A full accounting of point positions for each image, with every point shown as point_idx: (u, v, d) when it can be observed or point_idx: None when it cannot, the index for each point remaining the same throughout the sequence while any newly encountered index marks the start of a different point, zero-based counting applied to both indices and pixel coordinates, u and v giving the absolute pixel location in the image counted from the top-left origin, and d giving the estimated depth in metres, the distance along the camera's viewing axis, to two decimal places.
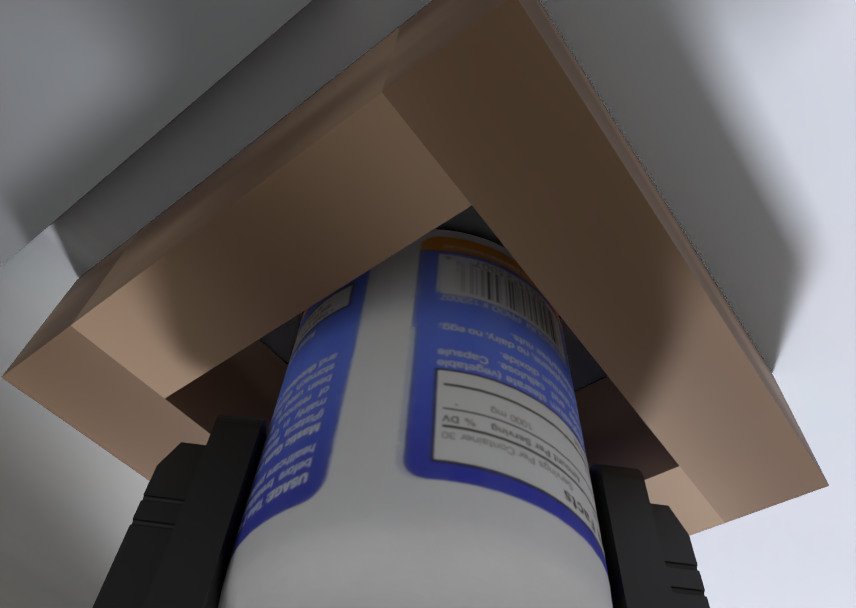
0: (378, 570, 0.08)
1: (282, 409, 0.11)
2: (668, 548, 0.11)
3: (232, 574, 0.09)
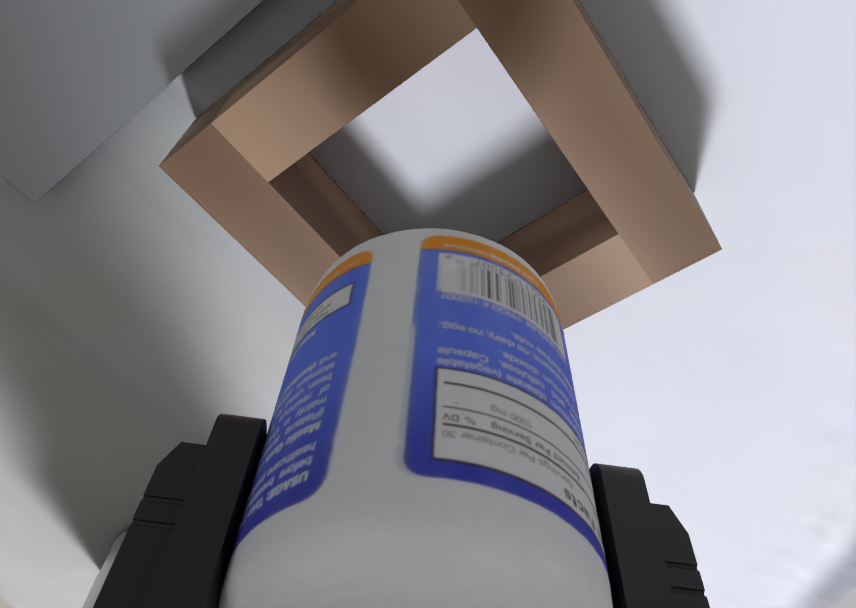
0: (378, 568, 0.08)
1: (282, 408, 0.11)
2: (668, 548, 0.11)
3: (232, 572, 0.09)
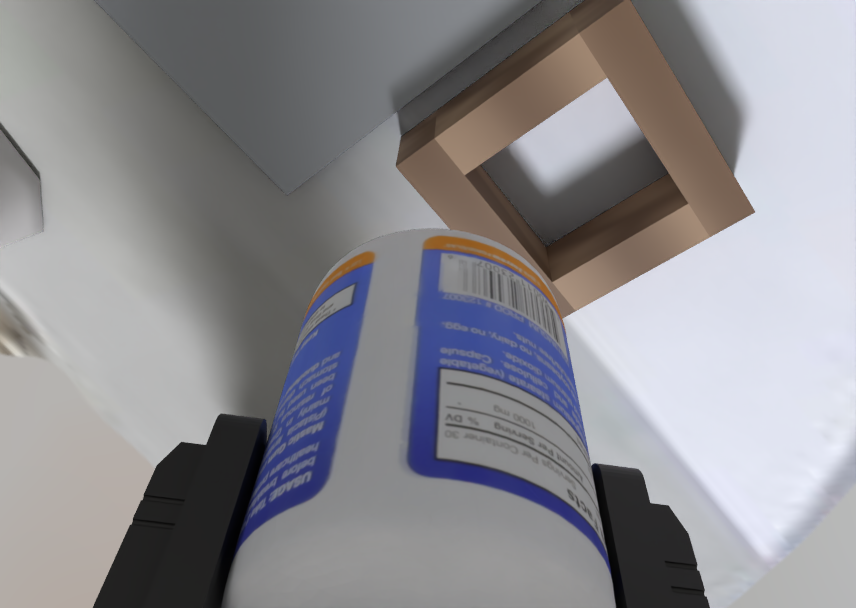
0: (380, 569, 0.08)
1: (285, 408, 0.11)
2: (668, 548, 0.11)
3: (235, 573, 0.09)
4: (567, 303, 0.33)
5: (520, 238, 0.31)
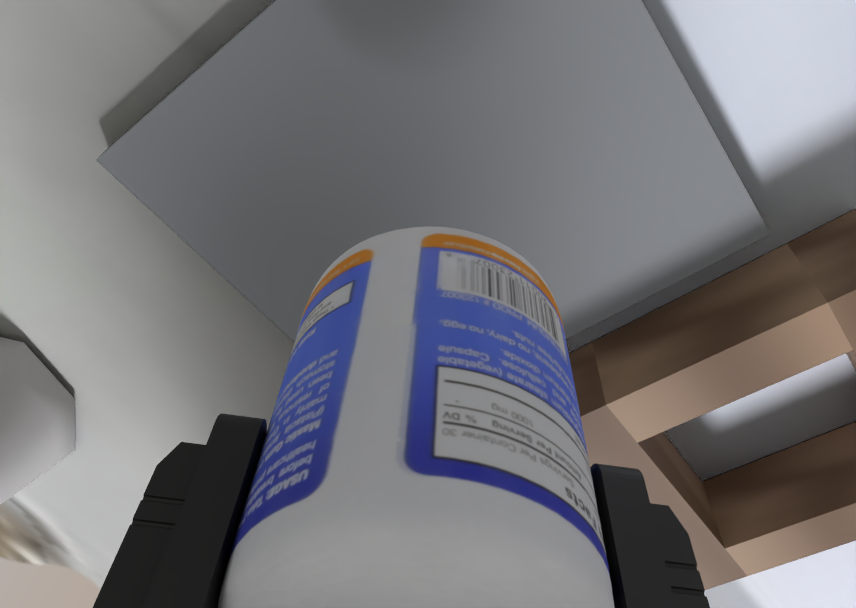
0: (377, 567, 0.08)
1: (282, 406, 0.11)
2: (668, 548, 0.11)
3: (232, 571, 0.09)
4: (739, 568, 0.26)
5: (690, 500, 0.25)
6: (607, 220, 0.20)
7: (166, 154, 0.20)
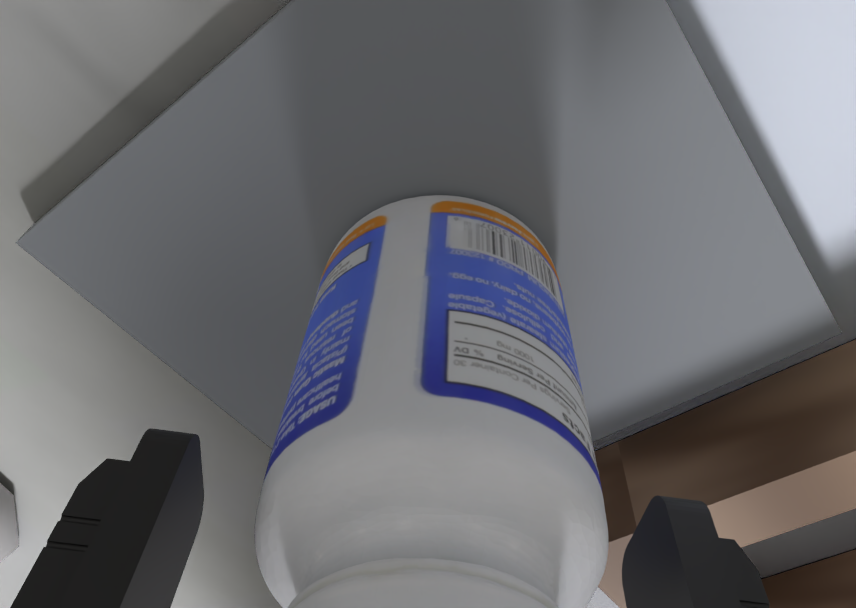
0: (400, 470, 0.09)
1: (308, 351, 0.12)
2: (739, 586, 0.10)
3: (269, 484, 0.10)
4: None
5: None
6: (643, 316, 0.17)
7: (101, 236, 0.16)
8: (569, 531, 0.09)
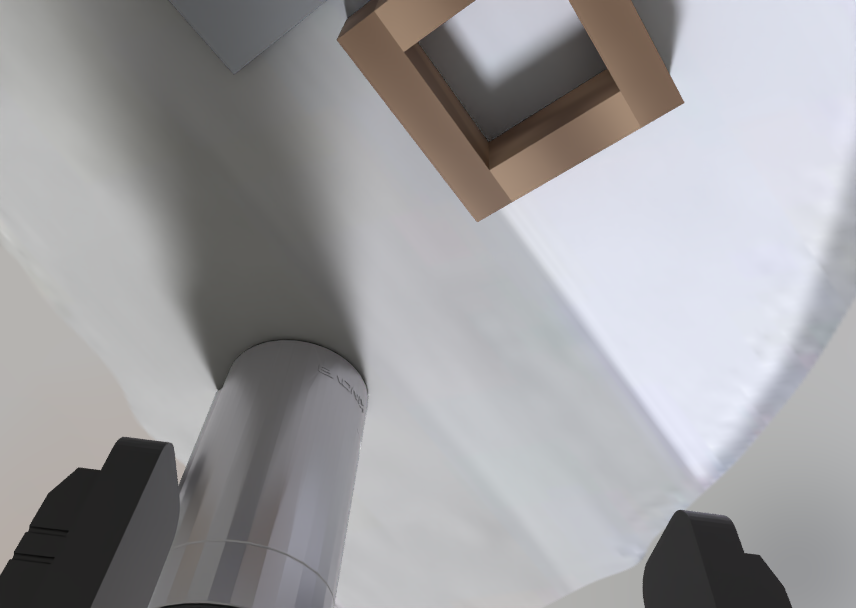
0: None
1: None
2: (765, 603, 0.10)
3: None
4: (504, 193, 0.34)
5: (459, 123, 0.32)
6: None
7: None
8: None
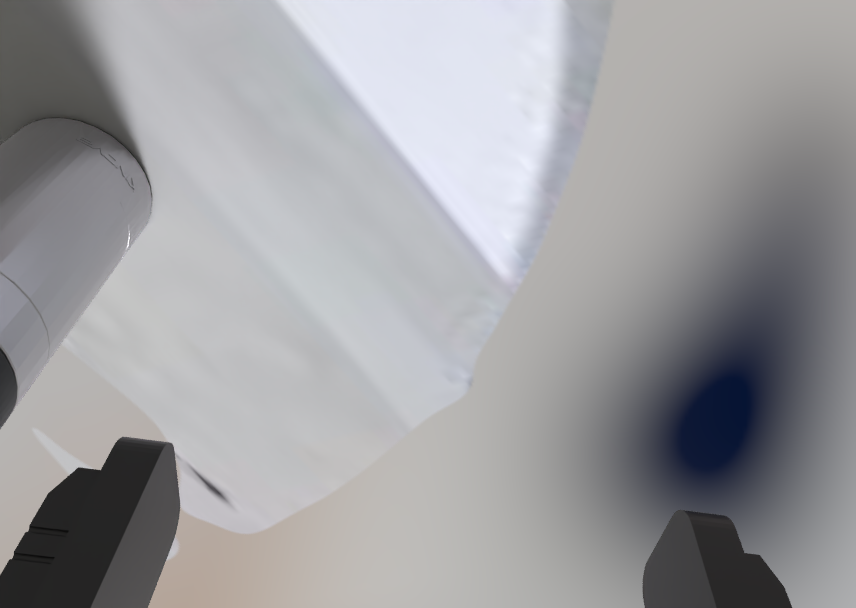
0: None
1: None
2: (765, 603, 0.10)
3: None
4: None
5: None
6: None
7: None
8: None
